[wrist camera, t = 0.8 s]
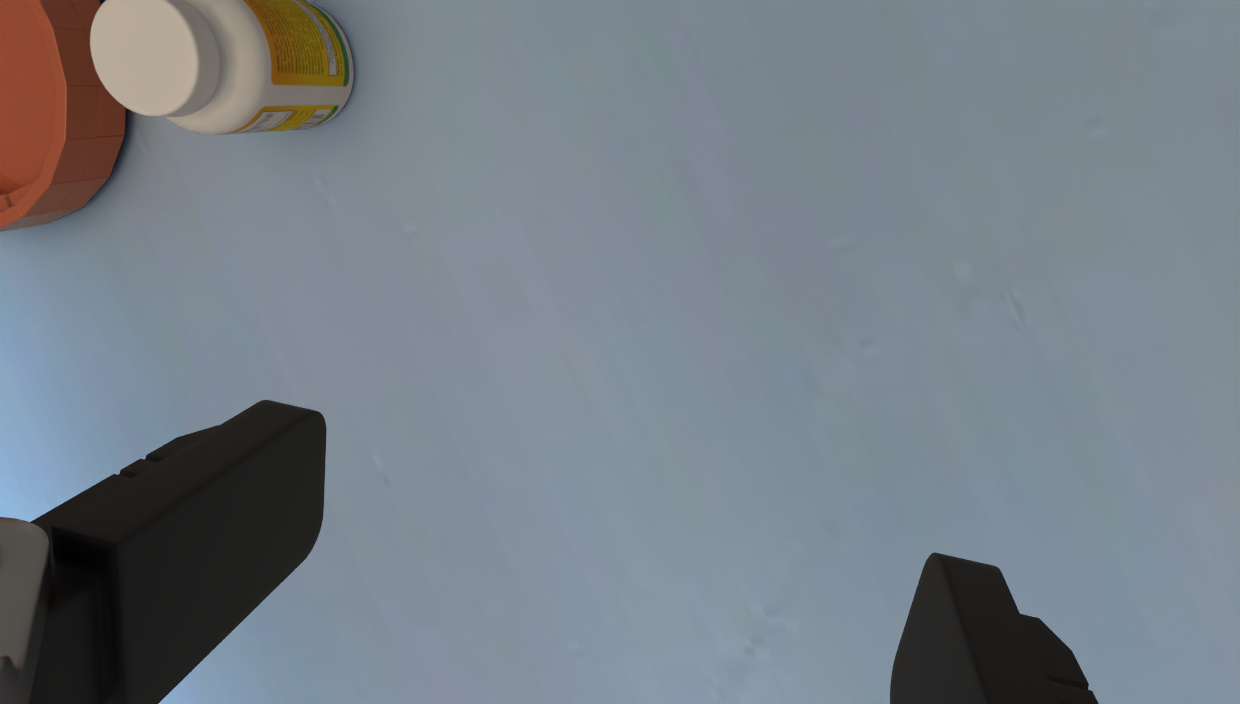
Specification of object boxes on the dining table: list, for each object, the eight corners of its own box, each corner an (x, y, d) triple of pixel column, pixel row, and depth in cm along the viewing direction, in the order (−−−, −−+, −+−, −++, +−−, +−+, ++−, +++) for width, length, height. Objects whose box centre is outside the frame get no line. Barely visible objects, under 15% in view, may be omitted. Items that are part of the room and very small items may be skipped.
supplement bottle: (330, 150, 37) (185, 170, 28) (229, 88, 37) (51, 87, 28) (377, 39, 35) (237, 21, 26) (270, -27, 35) (95, -67, 26)
